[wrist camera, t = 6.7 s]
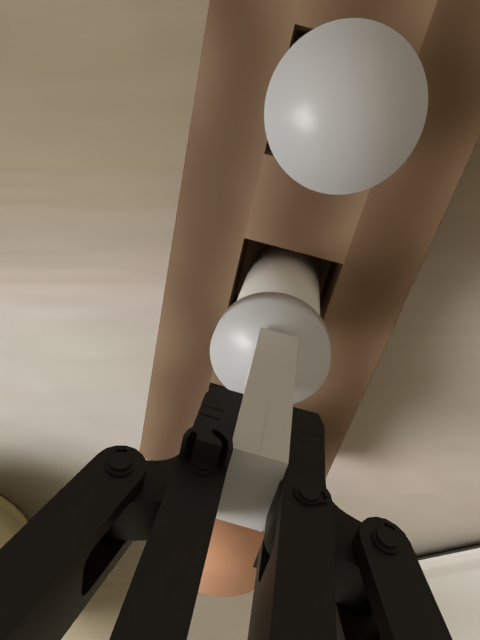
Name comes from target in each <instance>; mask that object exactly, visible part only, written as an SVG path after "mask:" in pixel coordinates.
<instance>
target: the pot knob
mask: <svg viewBox="0 0 480 640" xmlns="http://www.w3.org/2000/svg"><path fill="white" fill-rule="evenodd" d="M263 539H264V532H263V531H262V532H260V531H257V530H254V529H250V528H247V527H243V526H240V525H236V524H233V523H230V522H226V521H223V520H219V519H215V523H214V527H213V532H212V536H211V540H210V544H209V548H208V553H207V557H206V561H205V565H204V569H203V573H202V578H201V582H200V586H199V590H198V592H199V593H202V594H206V595H211V596H218V597H232V596H239V595H243V594H246V593H248V592H251V591H253V590H254V586H255V578H256V571H257V568H254V567H253V565H254V562H255V559H256V557H257V554H258V551H259V549H260V546H261V544H262V541H263Z"/></svg>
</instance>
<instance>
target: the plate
mask: <svg viewBox="0 0 480 640" xmlns="http://www.w3.org/2000/svg"><path fill="white" fill-rule="evenodd" d="M417 559H418V562H419V564H420V566H421V568H422V571H423V573H424V575H425V578H426V580H427V582H428V584H429V587H430V589H431V591H432V594H433V596H434V598H435V600H436V603H437V605H438V607H439V610H440V612H441V614H442V616H443V619H444V621H445V623H446V626H447V628H448V630H449V632H450V635H451V637H452V639H453V640H480V545H476V546H471V547H466V548H461V549H457V550H452V551H447V552H442V553H438V554H433V555H428V556H423V557H419V558H417Z"/></svg>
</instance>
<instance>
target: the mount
mask: <svg viewBox="0 0 480 640" xmlns="http://www.w3.org/2000/svg"><path fill="white" fill-rule="evenodd" d="M345 18H363V19H369V20H374V21H377V22H380V23H383V24H385V25H387V26H388V27H390V28H392V29H394V30H395V31H396V32H398V33H399V34H400V35H402V36H403V37H404V38H405V39H406V40H407V41H408V42H409V43H410V45H411V46H412V48H413V49H414V50H415V52H416V53H417V55H418V57H419V59H420V61H421V63H422V66H423V69H424V72H425V75H426V80H427V85H428V110H427V115H426V120H425V124H424V127H423V130H422V133H421V136H420V138H419V140H418V142H417V144H416V146H415V148H414V149H413V151H412V153H411V154H410V156H409V157H408V158H407V159H406V161H405V162H404V163H403V164H402V165H401V166H400V167H399V168H398V169H397V170H396V171H395V172H394V173H393V174H392V175H391V176H389V177H388V178H387V179H385V180H384V181H382V182H381V183H379V184H377V185H375V186H373V187H371V188H369V189H366V190H363V191H360V192H356V193H352V194H343V195H332V194H325V193H320V192H316V191H314V190H311V189H308V188H306V187H304V186H302V185H301V184H299V183H298V182H296V181H295V180H293V179H292V178H291V177H290V176H289V175H288V174H287V173H286V172H285V171H284V170H283V169H282V167H281V166H280V165H279V163H278V162H277V160H276V159H275V157H274V155H273V153H272V151H271V149H270V146H269V143H268V140H267V136H266V131H265V124H264V105H265V99H266V93H267V90H268V86H269V83H270V80H271V78H272V75H273V73H274V71H275V69H276V67H277V66H278V64H279V62H280V60H281V59H282V58H283V56H284V55H285V54H286V52H287V51H288V50H289V49H290V48H291V47H292V46H293V44H294V43H295V42H297V41H298V40H299V39H300V38H301V37H303V36H304V35H305V34H307V33H308V32H310V31H311V30H313V29H314V28H316V27H319V26H321V25H323V24H325V23H328V22H331V21H335V20H338V19H345ZM479 136H480V0H210V3H209V9H208V16H207V22H206V28H205V35H204V41H203V48H202V54H201V61H200V67H199V73H198V80H197V86H196V93H195V99H194V106H193V112H192V118H191V125H190V131H189V138H188V144H187V151H186V157H185V163H184V170H183V176H182V183H181V189H180V196H179V202H178V208H177V215H176V221H175V228H174V234H173V241H172V247H171V253H170V260H169V266H168V273H167V279H166V286H165V292H164V299H163V305H162V311H161V318H160V324H159V331H158V337H157V344H156V350H155V356H154V363H153V369H152V376H151V382H150V389H149V395H148V401H147V408H146V414H145V421H144V427H143V434H142V440H141V446H140V453H142V454H143V456H144V458H145V459H148V460H152V461H158V460H167V459H170V458H173V457H175V456H177V455H178V454H179V453H180V448H181V444H182V439H183V435H184V434H185V432H186V431H187V430H188V429H189V428H191V427H193V424H194V422H195V419H196V417H197V414H198V411H199V409H200V406H201V403H202V401H203V398H204V395H205V393H206V392H208V391H209V390H210V389H211V388H213V387H214V386H217V387H221V388H224V389H227V388H226V387H225V386H224V385H223V384H222V383H221V381H220V380H219V379H218V377H217V375H216V374H215V372H214V369H213V367H212V364H211V359H210V343H211V339H212V336H213V333H214V331H215V329H216V326H217V324H218V322H219V320H220V318H221V316H222V315H223V313H224V312H225V311H226V310H227V309H228V307H229V306H231V305H232V304H233V303H234V302H236V301H237V299H238V296H239V294H240V291H241V289H242V286H243V283H244V281H245V278H246V276H247V273H248V270H249V268H250V265H251V263H252V260H253V258H254V257H255V255H256V254H257V253H258V252H259V251H260V250H261V249H262V248H264V247H266V246H267V245H273V246H277V247H280V248H284V249H288V250H292V251H295V252H299V253H303V254H307V255H310V256H313V257H314V258H315V260H316V262H317V264H318V267H319V287H320V317H321V318H322V319H323V321H324V323H325V325H326V327H327V330H328V333H329V337H330V348H331V363H330V369H329V372H328V375H327V377H326V379H325V381H324V382H323V384H322V385H321V386H320V387H319V389H318V390H317V391H316V392H314V393H313V394H312V395H311V396H309V397H307V398H306V399H304V400H302V401H300V402H297V403H294V404H293V407H296V408H300V409H303V410H307V411H310V412H314V413H317V414H319V416H320V418H321V420H322V422H323V424H324V426H325V438H324V440H325V449H324V450H325V479H326V477H327V474H328V472H329V470H330V468H331V465H332V463H333V461H334V459H335V456H336V454H337V452H338V450H339V448H340V445H341V443H342V441H343V439H344V436H345V434H346V432H347V430H348V428H349V425H350V423H351V421H352V419H353V416H354V414H355V412H356V410H357V407H358V405H359V403H360V401H361V399H362V396H363V394H364V392H365V390H366V387H367V385H368V383H369V381H370V379H371V376H372V374H373V372H374V370H375V367H376V365H377V363H378V361H379V358H380V356H381V354H382V352H383V350H384V347H385V345H386V343H387V341H388V338H389V336H390V334H391V332H392V330H393V327H394V325H395V323H396V321H397V318H398V316H399V314H400V312H401V309H402V307H403V305H404V303H405V301H406V298H407V296H408V294H409V292H410V289H411V287H412V285H413V283H414V281H415V278H416V276H417V274H418V272H419V269H420V267H421V265H422V263H423V260H424V258H425V256H426V254H427V252H428V249H429V247H430V245H431V243H432V240H433V238H434V236H435V234H436V232H437V229H438V227H439V225H440V223H441V220H442V218H443V216H444V214H445V211H446V209H447V207H448V205H449V203H450V200H451V198H452V196H453V194H454V191H455V189H456V187H457V185H458V182H459V180H460V178H461V176H462V174H463V171H464V169H465V167H466V165H467V162H468V160H469V158H470V156H471V154H472V151H473V149H474V147H475V145H476V142H477V140H478V138H479Z"/></svg>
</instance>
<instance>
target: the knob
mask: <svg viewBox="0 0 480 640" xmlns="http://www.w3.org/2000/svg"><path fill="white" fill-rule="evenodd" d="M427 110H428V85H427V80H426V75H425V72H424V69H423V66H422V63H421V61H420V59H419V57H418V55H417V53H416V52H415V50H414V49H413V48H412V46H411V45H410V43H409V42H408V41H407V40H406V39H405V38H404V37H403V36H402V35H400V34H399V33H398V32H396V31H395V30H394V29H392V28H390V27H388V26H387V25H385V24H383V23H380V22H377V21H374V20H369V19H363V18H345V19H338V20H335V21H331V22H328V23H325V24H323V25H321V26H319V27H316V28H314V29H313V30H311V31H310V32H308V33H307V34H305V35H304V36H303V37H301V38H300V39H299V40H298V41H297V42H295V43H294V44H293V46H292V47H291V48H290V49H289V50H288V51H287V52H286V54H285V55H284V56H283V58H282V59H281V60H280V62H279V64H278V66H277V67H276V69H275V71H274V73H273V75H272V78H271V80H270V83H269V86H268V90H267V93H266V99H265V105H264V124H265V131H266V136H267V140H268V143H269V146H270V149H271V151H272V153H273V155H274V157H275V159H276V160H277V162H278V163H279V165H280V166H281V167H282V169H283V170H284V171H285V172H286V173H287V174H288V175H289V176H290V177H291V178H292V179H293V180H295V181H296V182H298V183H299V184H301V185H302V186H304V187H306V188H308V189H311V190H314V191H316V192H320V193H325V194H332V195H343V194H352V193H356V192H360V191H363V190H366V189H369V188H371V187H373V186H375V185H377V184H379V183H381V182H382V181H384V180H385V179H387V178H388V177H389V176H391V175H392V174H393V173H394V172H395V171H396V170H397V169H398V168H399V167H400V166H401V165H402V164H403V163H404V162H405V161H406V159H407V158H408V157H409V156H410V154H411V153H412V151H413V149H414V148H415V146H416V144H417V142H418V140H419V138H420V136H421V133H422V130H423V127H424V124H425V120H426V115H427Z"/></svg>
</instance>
